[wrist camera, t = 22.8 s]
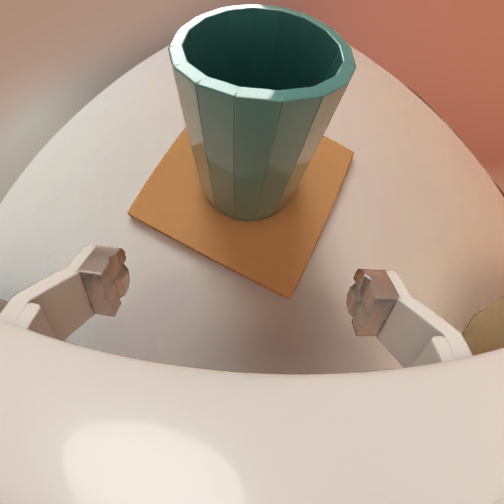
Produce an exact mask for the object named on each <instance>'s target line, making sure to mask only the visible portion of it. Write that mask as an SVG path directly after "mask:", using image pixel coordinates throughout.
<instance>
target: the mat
mask: <svg viewBox="0 0 504 504" xmlns="http://www.w3.org/2000/svg"><path fill="white" fill-rule="evenodd" d="M353 154H354V152H353V151H351V150H349V149H347V148H346V147H344V146H342V145H340V144H338V143H336V142H334V141H332V140H331V139H329V138H327V137H325V136H323V137H322V139H321V141H320V143H319V145H318V147H317V149H316V151H315V153H314V155H313V157H312V159H311V161H310V163H309V165H308V167H307V169H306V171H305V173H304V175H303V177H302V179H301V181H300V183H299V184H298V186H297V188H296V190H295V192H294V194H293V196H292V198H291V200H290V201H289V203H288V204H287V205H286V206H285V207H284V208H283V209H282V210H281V211H280V212H278V213H277V214H275V215H273V216H271V217H269V218H266V219H263V220H259V221H240V220H235V219H232V218H229V217H227V216H225V215H223V214H221V213H220V212H218V211H217V210H216V209H214V208H213V207H212V206H211V205H210V203H209V202H208V201H207V199H206V197H205V196H204V194H203V191H202V188H201V184H200V181H199V177H198V173H197V169H196V166H195V162H194V158H193V154H192V150H191V146H190V142H189V138H188V134H187V130H186V128H185V129H184V130H183V132H182V133H181V134H180V136H179V137H178V138H177V139H176V141H175V142H174V144H173V145H172V146H171V148H170V149H169V150H168V152H167V153H166V154H165V156H164V157H163V159H162V160H161V162H160V163H159V164H158V166H157V167H156V169H155V170H154V172H153V173H152V175H151V176H150V178H149V179H148V181H147V182H146V184H145V185H144V187H143V188H142V190H141V191H140V193H139V195H138V196H137V198H136V199H135V201H134V203H133V204H132V206H131V207H130V209H129V211H128V212H127V213H128V214H129V215H130V216H132V217H133V218H135V219H137V220H139V221H141V222H143V223H144V224H146V225H148V226H150V227H152V228H153V229H155V230H157V231H159V232H161V233H163V234H164V235H166V236H168V237H170V238H172V239H174V240H176V241H177V242H179V243H181V244H183V245H185V246H187V247H189V248H191V249H192V250H194V251H196V252H198V253H200V254H202V255H204V256H206V257H208V258H209V259H211V260H213V261H215V262H217V263H219V264H221V265H223V266H225V267H227V268H229V269H231V270H232V271H234V272H236V273H238V274H240V275H242V276H244V277H246V278H248V279H250V280H252V281H254V282H256V283H258V284H260V285H262V286H264V287H266V288H268V289H270V290H272V291H274V292H276V293H278V294H280V295H282V296H284V297H286V298H288V299H290V298H291V297H292V295H293V293H294V290H295V288H296V286H297V284H298V282H299V280H300V278H301V276H302V274H303V271H304V269H305V267H306V265H307V263H308V261H309V258H310V256H311V254H312V252H313V250H314V247H315V245H316V243H317V241H318V238H319V236H320V234H321V232H322V229H323V227H324V225H325V222H326V220H327V218H328V215H329V213H330V211H331V208H332V206H333V204H334V201H335V199H336V196H337V194H338V192H339V189H340V187H341V184H342V182H343V179H344V177H345V174H346V172H347V169H348V167H349V164H350V161H351V159H352V156H353Z"/></svg>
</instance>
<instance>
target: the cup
mask: <svg viewBox="0 0 504 504" xmlns="http://www.w3.org/2000/svg"><path fill="white" fill-rule="evenodd" d="M168 51H169V55H170V60H171V65H172V69H173V74H174V78H175V83H176V87H177V92H178V96H179V100H180V105H181V109H182V113H183V117H184V121H185V126H186V130H187V134H188V138H189V142H190V146H191V150H192V154H193V158H194V162H195V166H196V169H197V173H198V177H199V181H200V184H201V188H202V191H203V194H204V196H205V197H206V199H207V201H208V202H209V203H210V205H211V206H212V207H213V208H214V209H216V210H217V211H218V212H220V213H221V214H223V215H225V216H227V217H229V218H232V219H235V220H240V221H259V220H263V219H266V218H269V217H271V216H273V215H275V214H277V213H278V212H280V211H281V210H282V209H283V208H284V207H285V206H286V205H287V204H288V203H289V201H290V200H291V198H292V196H293V194H294V192H295V190H296V188H297V186H298V184H299V183H300V181H301V179H302V177H303V175H304V173H305V171H306V169H307V167H308V165H309V163H310V161H311V159H312V157H313V155H314V153H315V151H316V149H317V147H318V145H319V143H320V141H321V139H322V137H323V135H324V133H325V131H326V129H327V126H328V124H329V122H330V120H331V118H332V116H333V114H334V112H335V110H336V108H337V106H338V104H339V102H340V100H341V98H342V96H343V94H344V92H345V90H346V88H347V86H348V84H349V82H350V80H351V77H352V75H353V73H354V71H355V69H356V64H355V60H354V57H353V53H352V50H351V48H350V46H349V45H348V44H347V43H346V41H345V40H344V39H343V38H342V37H341V36H340V35H339V34H338V33H337V32H336V31H335V30H334V29H332V28H331V27H329V26H328V25H326V24H324V23H322V22H321V21H319V20H317V19H316V18H314V17H312V16H309V15H307V14H303V13H301V12H298V11H295V10H291V9H288V8H284V7H283V8H282V7H278V6H270V5H260V4H246V5H236V6H227V7H222V8H219V9H215V10H212V11H209V12H206V13H204V14H201V15H198V16H196V17H195V18H193V19H192V20H191V21H189V22H188V23H186V24H185V25H183V26H182V27H181V28H179V29H178V30H177V32H176V34H175V36H174V38H173V39H172V41H171V43H170V45H169V48H168Z"/></svg>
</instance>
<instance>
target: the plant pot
mask: <svg viewBox="0 0 504 504" xmlns="http://www.w3.org/2000/svg"><path fill="white" fill-rule="evenodd" d="M463 338H464V339H465V341H466V343H467V345H468V347H469V349H470V351H471V353H472V355H473V356H474V355H478V354H482V353H486V352H490V351H494V350H497V349H501V348H504V297H502V298H500V299H499V300H497V301H496V302H494V303H493V304H491V305H490V306H488V307H487V308H485V309H483V310H482V311H480V312H479V313H478V314H476V315H475V316H474V317H473V318H472V320H471V321H470V322H469V324H468V326H467V327H466V330H465V332H464V334H463Z"/></svg>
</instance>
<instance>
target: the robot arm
mask: <svg viewBox="0 0 504 504" xmlns="http://www.w3.org/2000/svg"><path fill="white" fill-rule="evenodd" d="M125 260H126V256H125V252H124V250H123V249H122V248H113V247H105V246H96V245H85V246H84V247H83V248H82V249H81V251H80V252H79V253H78V254H77V255H76V257H75V258H74V259H73V260H72V261H71V263H70V264H69V265H68V266H67V268H66V269H65V270H60V271H58V272H56V273H54V274H52V275H50V276H48V277H47V278H45V279H43V280H41V281H39V282H37V283H35V284H34V285H32V286H30V287H28V288H26V289H25V290H23V291H21V292H19V293H18V294H16V295H14V296H13V297H12V298H11V299H10V301H9V302H8V304H7V305H6V306H5V308H4V309H3V311H2V312H1V313H0V504H504V348H501V349H497V350H494V351H490V352H486V353H482V354H478V355H474V356H473V355H472V353H471V351H470V349H469V347H468V345H467V343H466V341H465V339H464V338H463V336H462V334H461V332H459V331H458V330H457V329H455V328H454V327H453V326H452V325H450V324H449V323H448V322H446V321H445V320H444V319H442V318H441V317H440V316H438V315H437V314H436V313H434V312H433V311H432V310H430V309H429V308H428V307H426V306H425V305H424V304H422V303H421V302H420V301H418V300H417V299H413V298H412V296H411V295H410V293H409V291H408V289H407V288H406V286H405V284H404V283H403V281H402V279H401V278H400V276H399V274H398V273H397V272H396V271H395V270H370V269H358V270H357V271H356V273H355V276H354V280H355V284H354V285H353V286H351V287H350V289H349V291H348V294H347V302H346V303H347V309H348V313H349V314H350V315H351V316H353V317H354V318H353V320H352V325H353V328H354V331H355V334H356V336H377V338H378V339H379V341H380V342H381V343H382V344H383V345H384V346H385V347H386V348H387V349H388V350H389V351H390V353H391V354H392V355H393V356H394V357H395V358H396V359H397V360H398V361H399V363H400V364H401V365H402V366H403V367H404V368H400V369H391V370H381V371H370V372H357V373H339V374H262V373H244V372H230V371H219V370H208V369H199V368H191V367H184V366H176V365H170V364H163V363H157V362H151V361H145V360H140V359H135V358H130V357H125V356H120V355H116V354H111V353H107V352H102V351H98V350H94V349H90V348H86V347H83V346H79V345H75V344H72V343H68V342H65V341H63V340H64V339H65V338H67V337H68V336H69V335H70V334H71V333H73V332H74V331H75V330H76V329H77V328H79V327H80V326H81V325H82V324H83V323H85V322H86V321H87V320H88V319H90V318H91V317H92V316H93V315H94V314H100V315H107V316H113V317H115V315H116V313H117V311H118V309H119V307H120V305H121V301H120V298H121V297H123V296H124V295H125V294H126V292H127V290H128V287H129V271H128V269H127V267H126V266H125V265H124V264H123V263H124V262H125Z"/></svg>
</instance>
